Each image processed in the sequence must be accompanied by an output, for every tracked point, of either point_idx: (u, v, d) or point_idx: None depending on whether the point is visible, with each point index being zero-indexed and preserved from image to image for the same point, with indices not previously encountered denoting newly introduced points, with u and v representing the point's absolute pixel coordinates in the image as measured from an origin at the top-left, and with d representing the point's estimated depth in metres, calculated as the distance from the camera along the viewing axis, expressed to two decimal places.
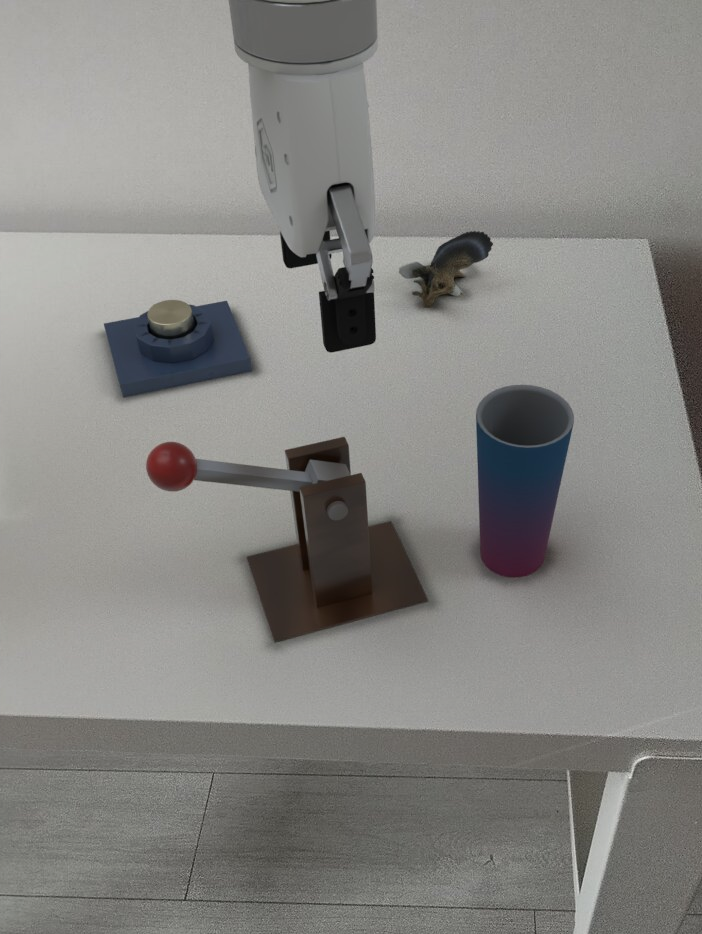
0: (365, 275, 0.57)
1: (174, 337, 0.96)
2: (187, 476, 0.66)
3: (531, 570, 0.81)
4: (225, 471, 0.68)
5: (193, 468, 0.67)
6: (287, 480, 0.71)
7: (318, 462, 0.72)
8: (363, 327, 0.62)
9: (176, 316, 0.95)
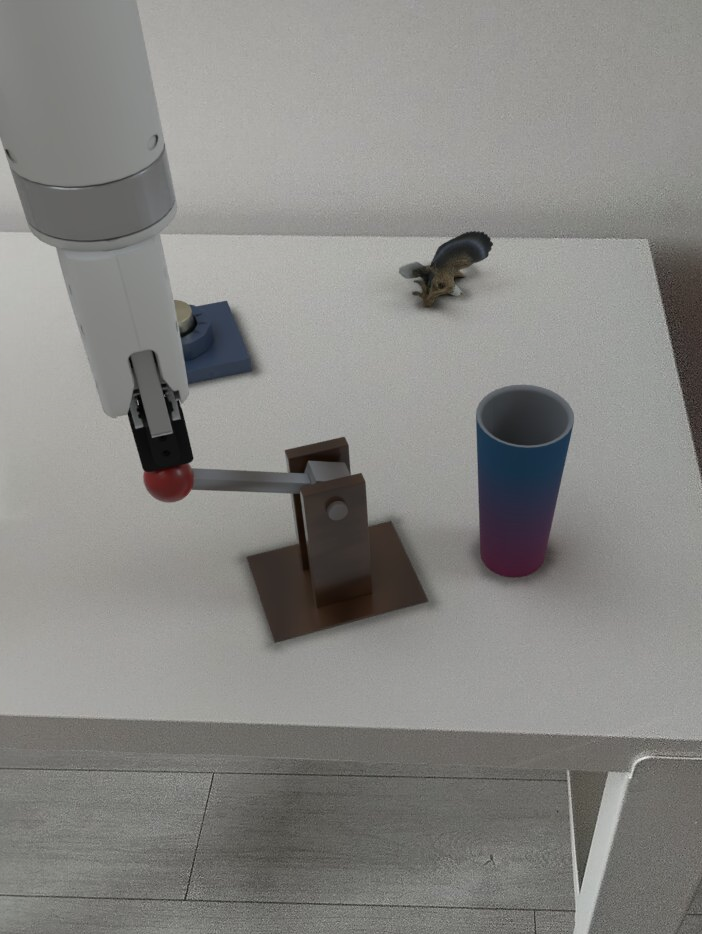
0: None
1: None
2: (183, 487, 0.67)
3: (531, 570, 0.81)
4: (222, 478, 0.69)
5: (189, 478, 0.67)
6: (285, 484, 0.71)
7: (316, 463, 0.72)
8: (176, 450, 0.64)
9: None
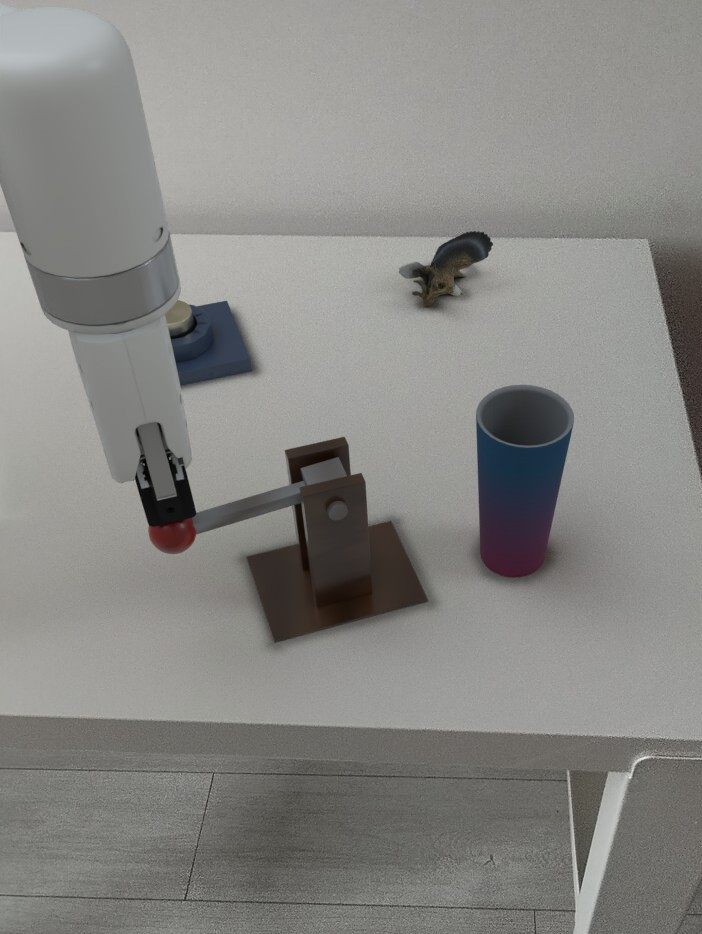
0: None
1: (174, 337, 0.96)
2: (183, 538, 0.70)
3: (531, 570, 0.81)
4: (220, 515, 0.71)
5: (186, 527, 0.70)
6: (282, 499, 0.72)
7: (309, 467, 0.72)
8: (180, 507, 0.68)
9: (176, 316, 0.95)
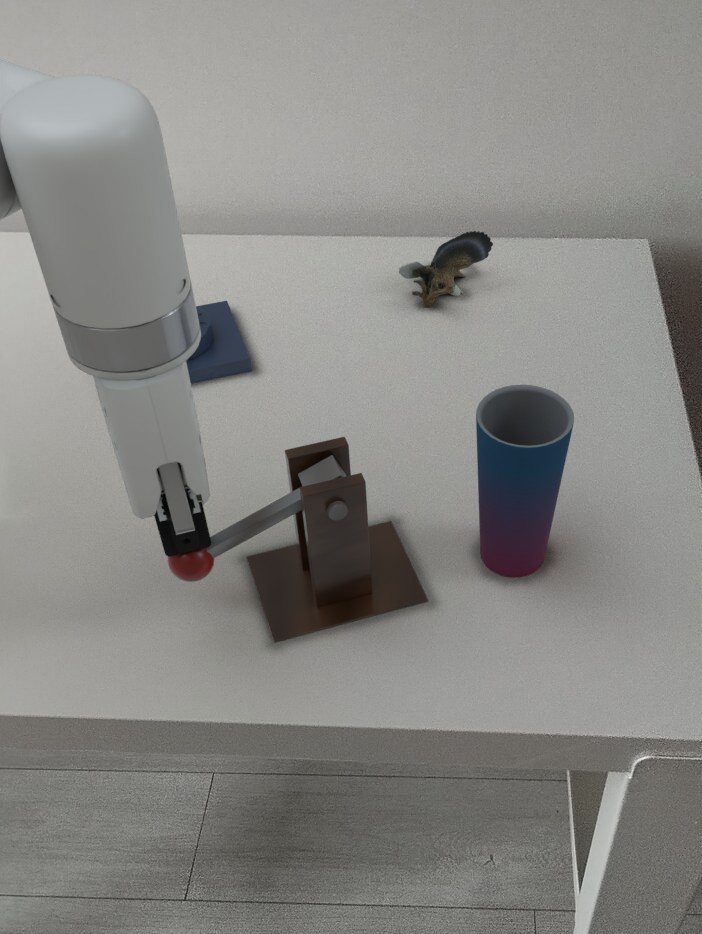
0: None
1: None
2: (199, 565, 0.72)
3: (531, 570, 0.81)
4: (230, 537, 0.73)
5: (200, 555, 0.72)
6: (285, 509, 0.73)
7: (305, 472, 0.73)
8: (196, 538, 0.70)
9: None
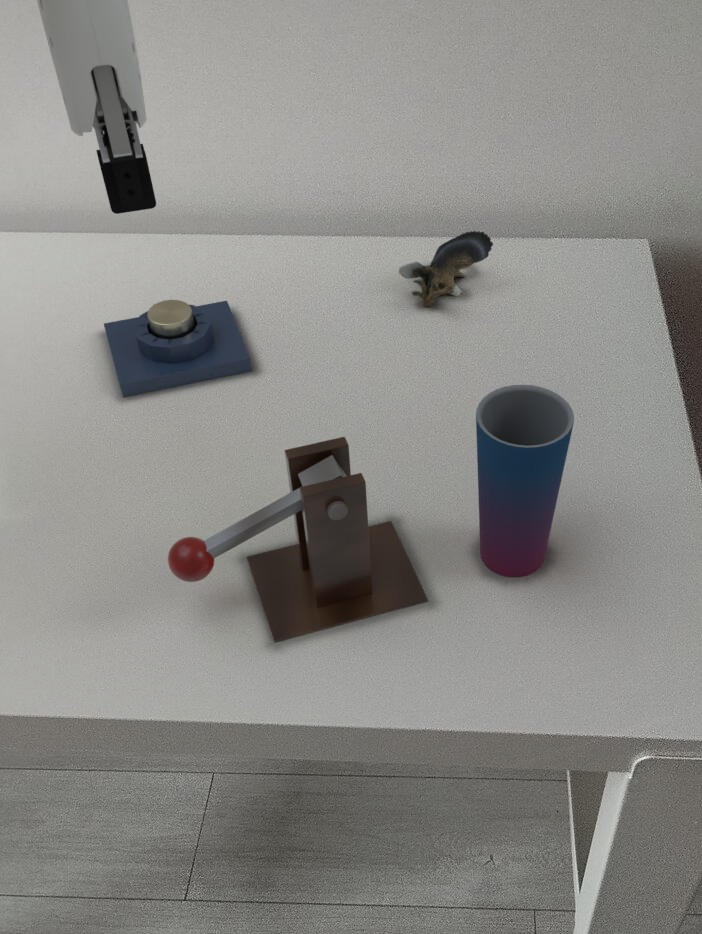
0: None
1: (174, 337, 0.96)
2: (199, 565, 0.72)
3: (531, 570, 0.81)
4: (230, 537, 0.73)
5: (200, 555, 0.72)
6: (285, 509, 0.73)
7: (305, 472, 0.73)
8: (140, 190, 0.73)
9: (176, 316, 0.95)
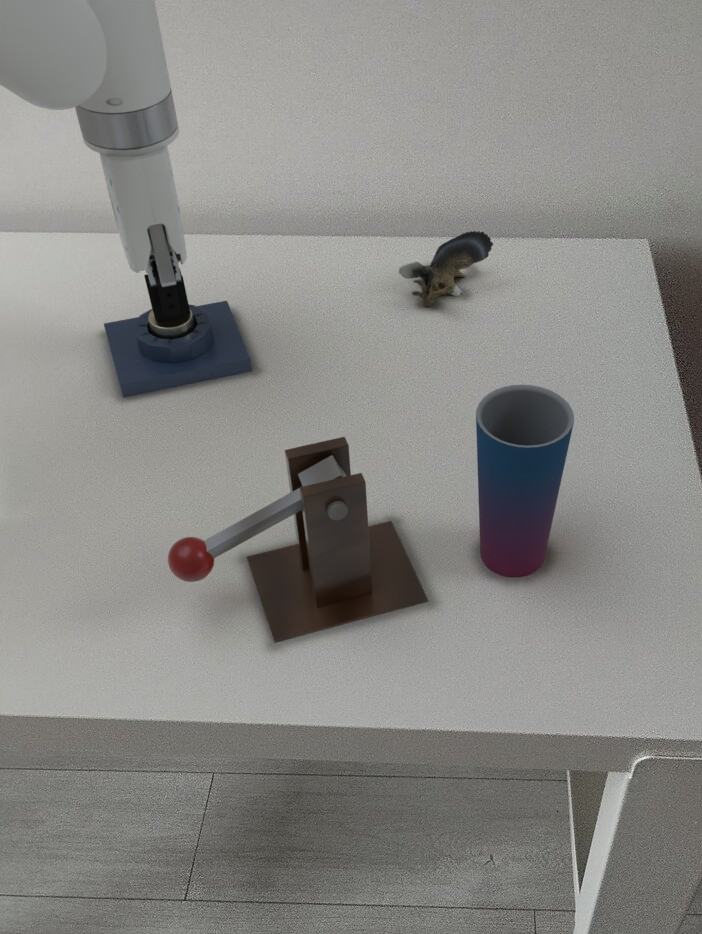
0: None
1: None
2: (199, 565, 0.72)
3: (531, 570, 0.81)
4: (230, 537, 0.73)
5: (200, 555, 0.72)
6: (285, 509, 0.73)
7: (305, 472, 0.73)
8: (178, 304, 0.94)
9: (177, 319, 0.96)
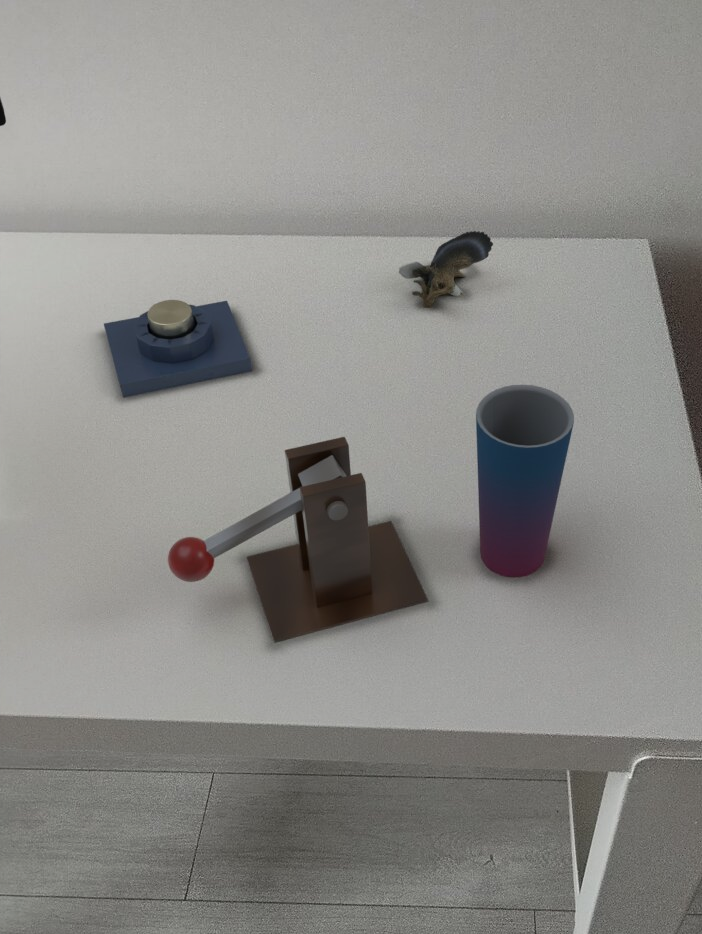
0: None
1: (174, 337, 0.96)
2: (199, 565, 0.72)
3: (531, 570, 0.81)
4: (230, 537, 0.73)
5: (200, 555, 0.72)
6: (285, 509, 0.73)
7: (305, 472, 0.73)
8: None
9: (176, 316, 0.95)
